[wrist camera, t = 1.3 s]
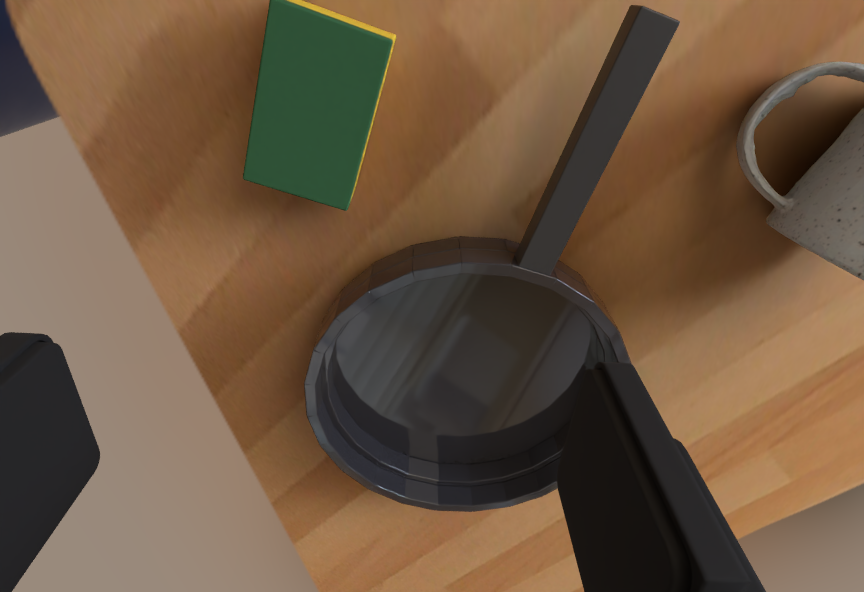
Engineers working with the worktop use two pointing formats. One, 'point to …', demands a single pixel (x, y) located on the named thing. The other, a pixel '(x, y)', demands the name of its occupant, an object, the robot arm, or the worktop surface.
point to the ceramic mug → (816, 178)
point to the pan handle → (596, 135)
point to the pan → (455, 374)
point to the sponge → (315, 101)
